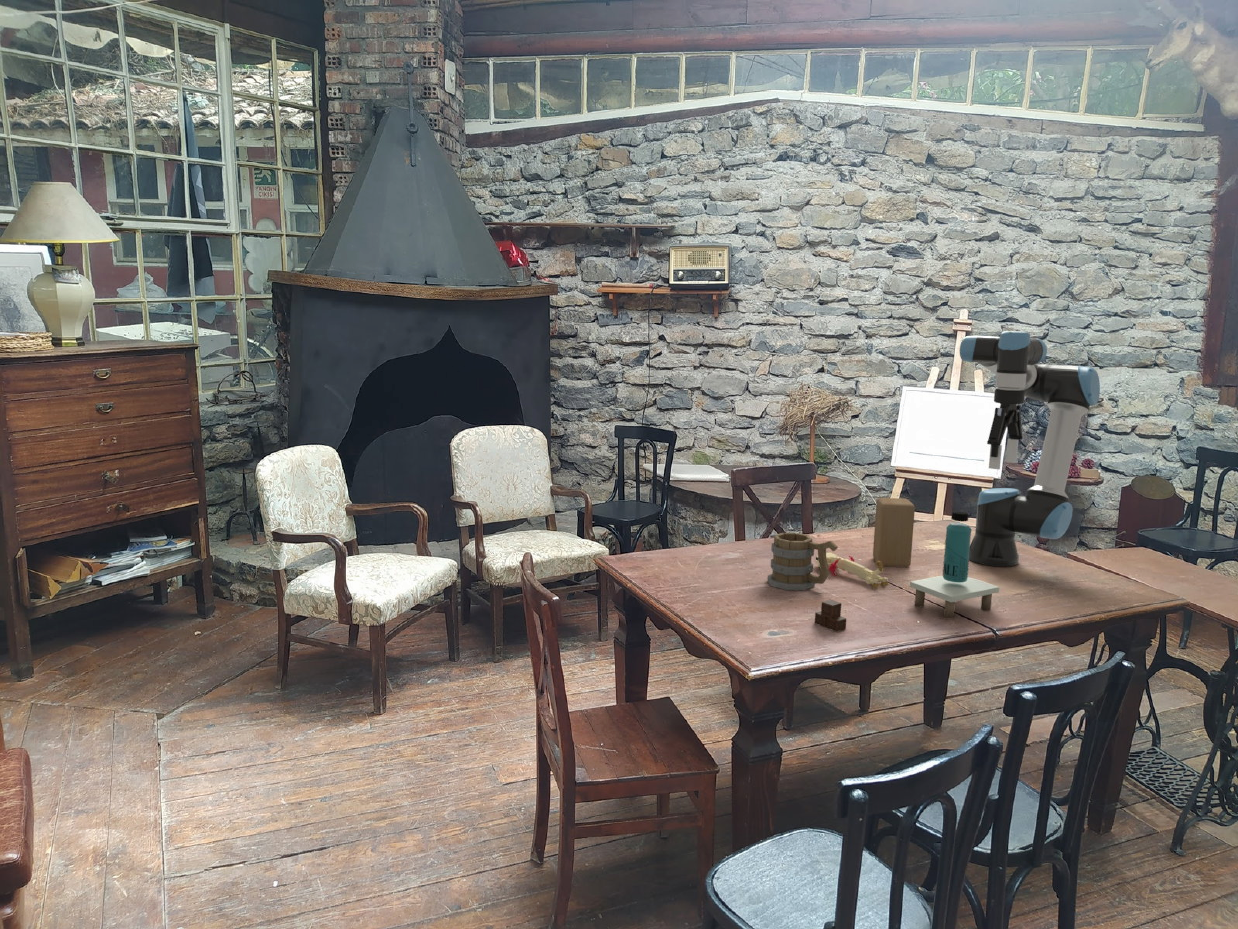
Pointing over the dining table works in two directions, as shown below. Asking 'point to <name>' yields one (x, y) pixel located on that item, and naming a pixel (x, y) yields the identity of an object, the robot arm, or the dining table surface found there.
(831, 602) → the stack of crates
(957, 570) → the beverage bottle
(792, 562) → the tankard
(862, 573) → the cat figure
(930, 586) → the peg shelf
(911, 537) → the wooden block
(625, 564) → the dining table surface
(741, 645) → the dining table surface
